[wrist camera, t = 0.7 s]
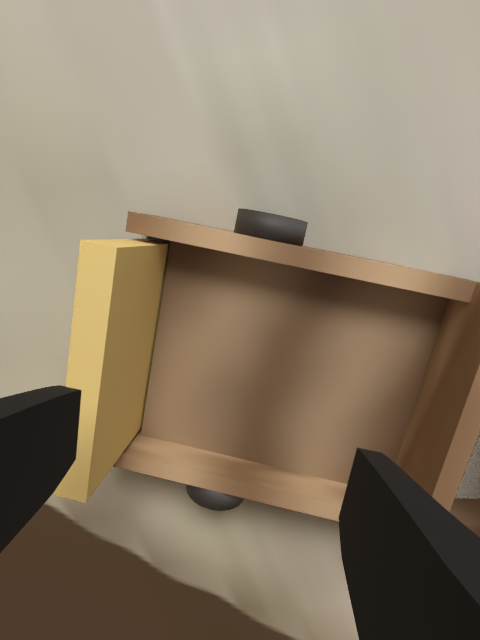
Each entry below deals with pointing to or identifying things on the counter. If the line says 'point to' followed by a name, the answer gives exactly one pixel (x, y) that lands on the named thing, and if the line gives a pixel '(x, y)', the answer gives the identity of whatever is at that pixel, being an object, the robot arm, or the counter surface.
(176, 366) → the brown wooden drawer
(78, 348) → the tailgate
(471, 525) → the walnut crate
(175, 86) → the counter surface
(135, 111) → the counter surface
